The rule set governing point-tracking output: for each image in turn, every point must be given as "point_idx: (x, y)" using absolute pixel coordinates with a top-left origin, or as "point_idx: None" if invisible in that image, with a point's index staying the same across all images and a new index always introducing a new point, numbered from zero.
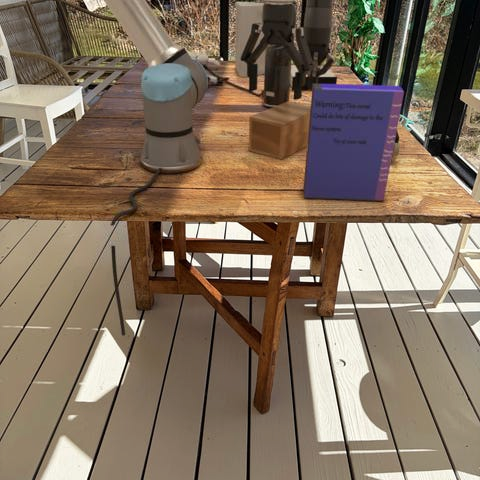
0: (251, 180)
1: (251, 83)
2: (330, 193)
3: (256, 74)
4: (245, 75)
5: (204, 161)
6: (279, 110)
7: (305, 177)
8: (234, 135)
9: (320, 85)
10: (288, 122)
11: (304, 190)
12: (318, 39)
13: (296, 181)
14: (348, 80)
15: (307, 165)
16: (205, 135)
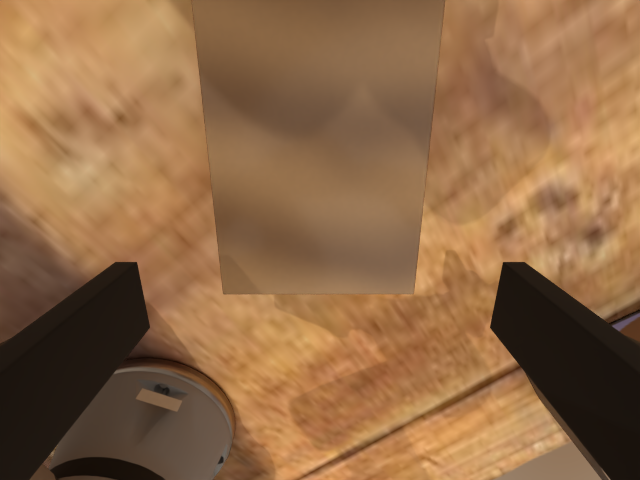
0: (386, 388)
1: (119, 363)
2: None
3: (61, 344)
4: None
5: (213, 369)
6: (270, 104)
7: (561, 422)
8: (99, 134)
9: None
10: (417, 257)
11: (542, 400)
12: None
13: (487, 335)
14: None
15: (599, 475)
16: (28, 205)
